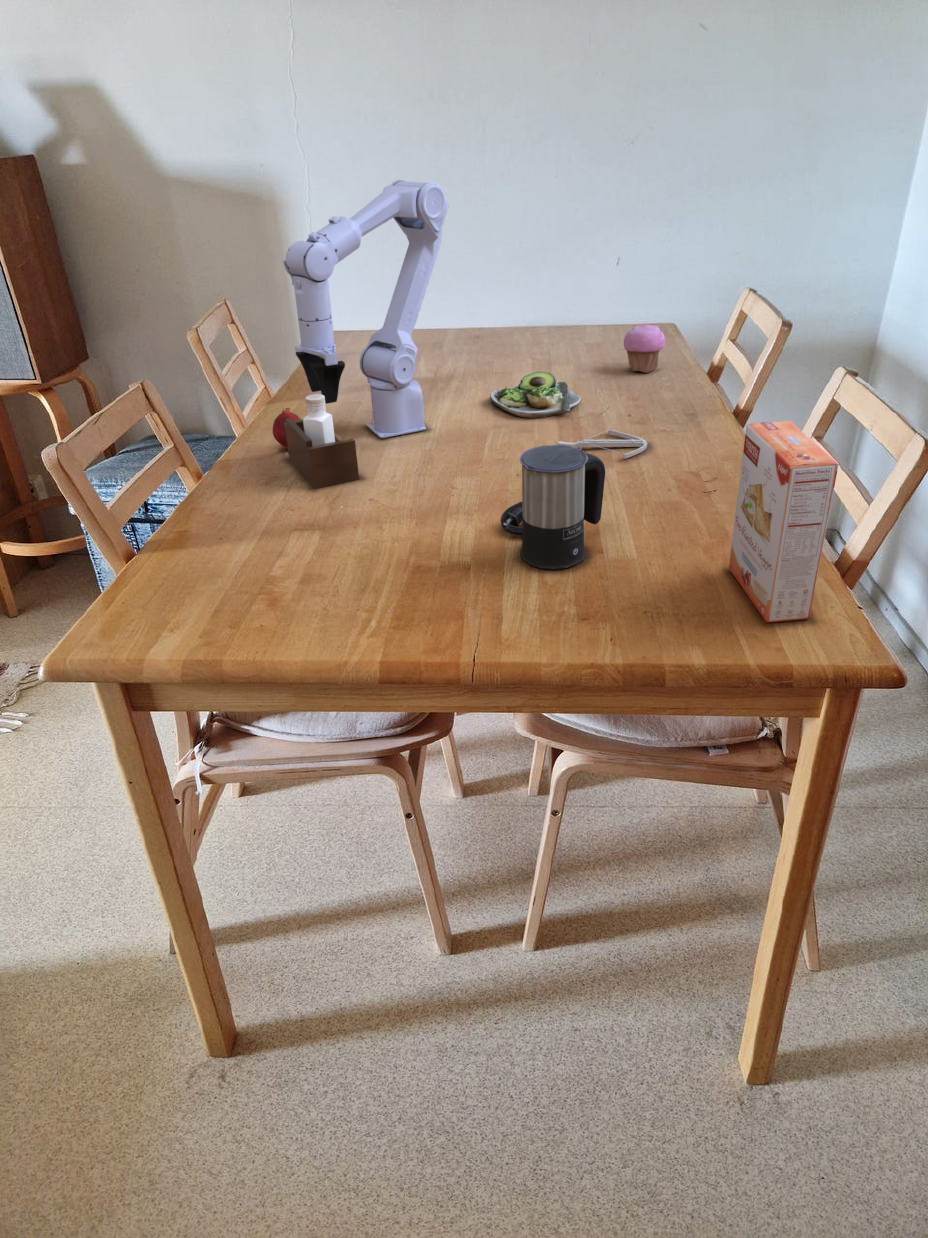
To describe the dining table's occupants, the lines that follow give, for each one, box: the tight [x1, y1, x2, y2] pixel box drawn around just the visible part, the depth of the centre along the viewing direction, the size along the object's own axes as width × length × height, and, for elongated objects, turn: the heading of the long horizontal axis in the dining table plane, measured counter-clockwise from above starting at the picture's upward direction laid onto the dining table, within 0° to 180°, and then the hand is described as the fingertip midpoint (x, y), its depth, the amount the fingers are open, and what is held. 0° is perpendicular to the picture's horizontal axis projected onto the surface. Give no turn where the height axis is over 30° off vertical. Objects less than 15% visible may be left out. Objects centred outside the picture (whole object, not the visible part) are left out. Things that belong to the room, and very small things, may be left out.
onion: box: [272, 406, 302, 449], centre depth 164 cm, size 6×6×8 cm
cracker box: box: [728, 420, 839, 624], centre depth 110 cm, size 14×6×21 cm, turn 5°
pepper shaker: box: [302, 393, 335, 446], centre depth 153 cm, size 4×4×10 cm
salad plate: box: [489, 371, 581, 419], centre depth 180 cm, size 19×18×5 cm
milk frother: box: [500, 444, 606, 570], centre depth 126 cm, size 14×16×15 cm
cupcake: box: [623, 324, 666, 374], centre depth 196 cm, size 9×9×10 cm
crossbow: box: [557, 428, 648, 460], centre depth 160 cm, size 16×13×2 cm
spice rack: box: [284, 418, 360, 490], centre depth 155 cm, size 8×15×8 cm, turn 25°
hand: (324, 396), depth 159 cm, fingers open, 7 cm apart
